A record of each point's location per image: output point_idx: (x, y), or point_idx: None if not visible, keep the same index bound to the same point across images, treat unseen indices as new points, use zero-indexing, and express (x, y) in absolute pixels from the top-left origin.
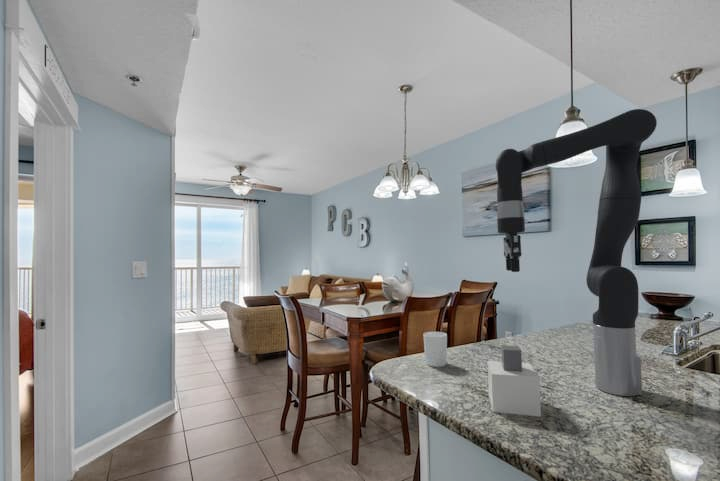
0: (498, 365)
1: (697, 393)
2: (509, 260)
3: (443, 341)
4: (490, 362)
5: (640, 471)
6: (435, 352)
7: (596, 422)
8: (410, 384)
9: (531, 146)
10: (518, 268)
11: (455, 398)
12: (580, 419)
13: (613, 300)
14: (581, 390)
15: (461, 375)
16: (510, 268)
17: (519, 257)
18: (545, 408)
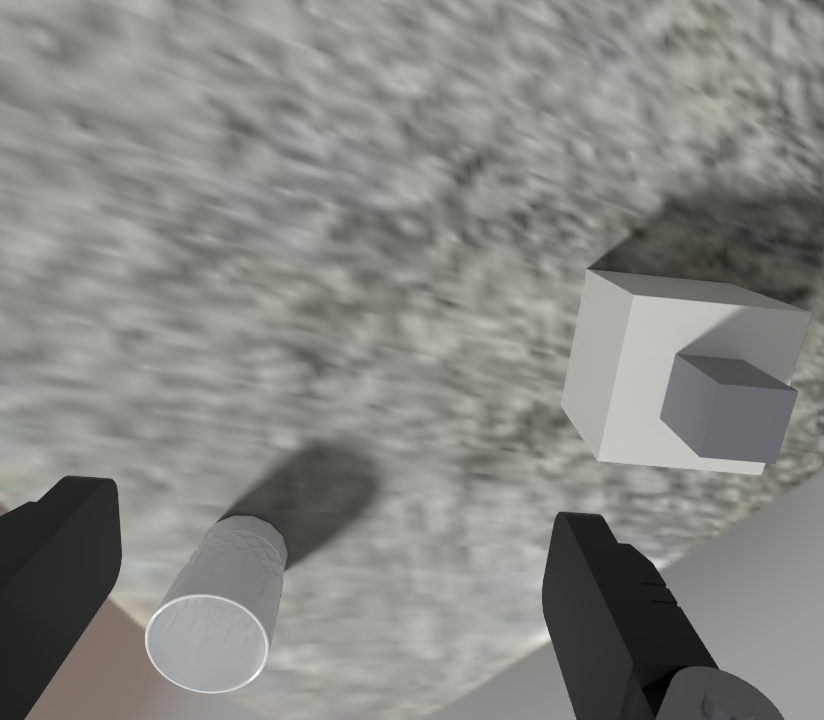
0: (661, 431)
1: None
2: (14, 667)
3: (256, 594)
4: (620, 454)
5: None
6: (280, 593)
7: (775, 115)
8: (485, 631)
9: None
10: (647, 560)
11: (594, 509)
12: (752, 160)
13: None
14: (494, 27)
15: (373, 469)
16: (105, 542)
17: (751, 698)
18: (668, 246)
